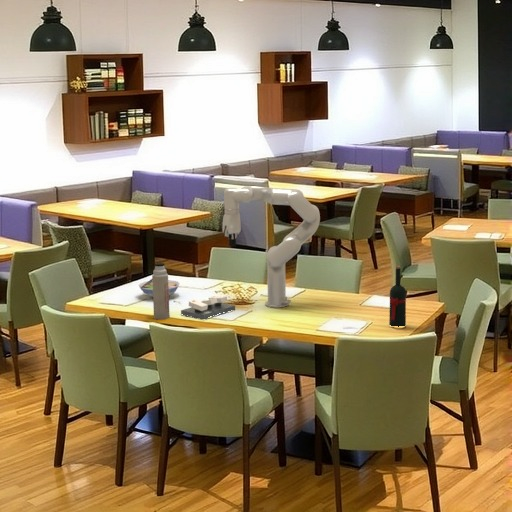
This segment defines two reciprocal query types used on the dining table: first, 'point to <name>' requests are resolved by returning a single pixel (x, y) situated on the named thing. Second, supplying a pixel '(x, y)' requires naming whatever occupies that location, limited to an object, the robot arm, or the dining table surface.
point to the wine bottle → (397, 303)
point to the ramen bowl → (148, 287)
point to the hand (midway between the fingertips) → (232, 246)
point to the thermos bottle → (160, 292)
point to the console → (208, 310)
